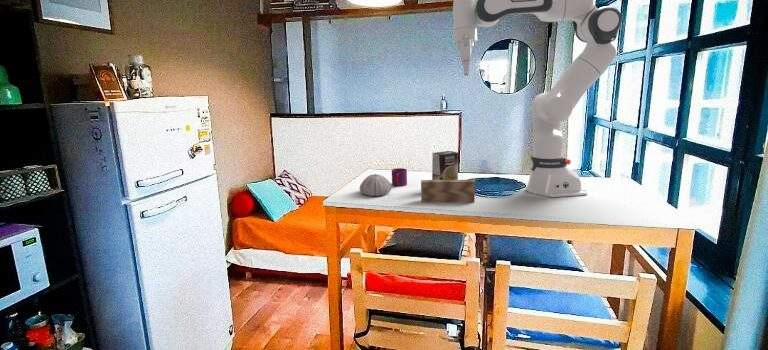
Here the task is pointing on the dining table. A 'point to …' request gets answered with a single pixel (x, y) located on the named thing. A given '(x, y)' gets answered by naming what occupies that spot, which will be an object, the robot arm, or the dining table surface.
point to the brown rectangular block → (447, 190)
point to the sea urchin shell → (375, 185)
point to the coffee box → (445, 165)
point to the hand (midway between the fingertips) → (466, 74)
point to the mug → (399, 177)
